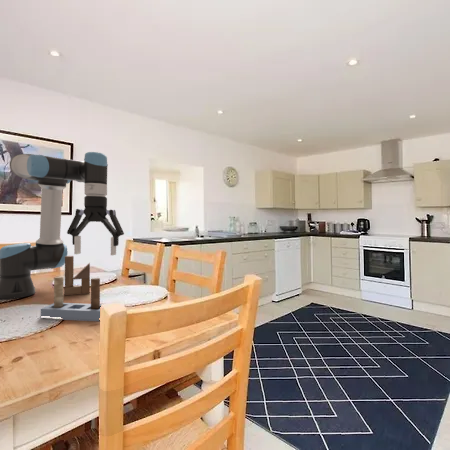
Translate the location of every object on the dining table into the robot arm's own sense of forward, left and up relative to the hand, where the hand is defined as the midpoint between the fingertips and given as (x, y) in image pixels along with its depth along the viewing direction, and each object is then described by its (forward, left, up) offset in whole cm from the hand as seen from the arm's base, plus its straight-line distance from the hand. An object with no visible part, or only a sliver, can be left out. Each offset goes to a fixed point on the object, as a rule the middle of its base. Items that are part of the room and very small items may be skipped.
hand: (95, 254), depth 106 cm
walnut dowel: (0, -1, -23) cm, 23 cm away
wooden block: (-25, +29, -23) cm, 45 cm away
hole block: (-7, -1, -23) cm, 24 cm away
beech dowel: (-14, -1, -23) cm, 27 cm away
